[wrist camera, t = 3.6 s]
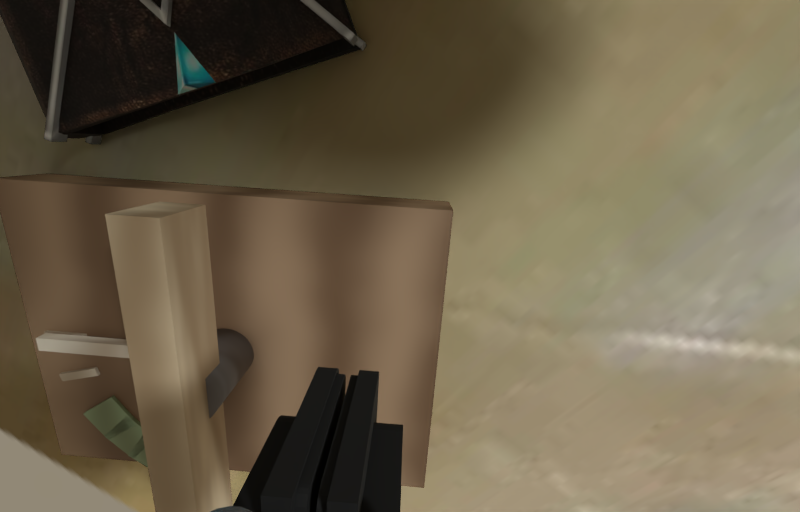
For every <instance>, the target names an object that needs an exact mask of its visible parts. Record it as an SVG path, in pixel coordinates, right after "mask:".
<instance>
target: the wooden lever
mask: <svg viewBox="0 0 800 512" xmlns="http://www.w3.org/2000/svg"><path fill="white" fill-rule="evenodd" d="M105 218H106V224H107V229H108V235H109V241H110V247H111V253H112V259H113V265H114V271H115V276H116V282H117V288H118V294H119V300H120V306H121V312H122V317H123V323H124V329H125V335H126V339H114V338H102V337H90V336H78V335H66V334H54V333H45V334H43V335H41V336H39V337H37V338H36V342H37V346H38V350H39V351H49V352H60V353H72V354H84V355H96V356H108V357H120V358H130V364H131V370H132V376H133V382H134V388H135V394H136V400H137V405H138V411H139V417H140V423H141V429H142V435H143V441H144V446H145V452H146V458H147V464H148V470H149V476H150V482H151V487H152V493H153V499H154V505H155V511H156V512H211V511H213V510H215V509H217V508H222V507H227V506H233V505H232V494H231V483H230V472H229V461H228V450H227V439H226V428H225V417H224V405H223V402H224V400H225V399H226V398H227V396H228V395H229V394H230V393H231V391H232V390H233V389H234V387H235V386H236V385H237V383H238V382H239V381H240V379H241V378H242V377H243V375H244V374H245V373H246V371H247V370H248V369H249V367H250V366H251V364H252V362H253V359H254V352H253V348H252V346H251V344H250V342H249V341H248V339H247V338H246V337H245V336H243V335H242V334H241V333H239V332H237V331H234V330H231V329H217V328H216V317H215V306H214V295H213V283H212V272H211V261H210V250H209V239H208V228H207V217H206V206H205V205H201V204H187V203H173V202H156V203H152V204H148V205H143V206H139V207H134V208H130V209H126V210H121V211H117V212H112V213H108V214H105Z"/></svg>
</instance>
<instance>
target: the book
mask: <svg viewBox="0 0 800 512" xmlns="http://www.w3.org/2000/svg"><path fill="white" fill-rule="evenodd" d="M0 14H1V17H2V19H3V21H4V24H5V26H6V28H7V30H8V33H9V35H10V37H11V39H12V42H13V44H14V46H15V49H16V51H17V53H18V55H19V58H20V60H21V62H22V65H23V67H24V69H25V71H26V74H27V76H28V78H29V80H30V83H31V85H32V87H33V90H34V92H35V94H36V96H37V99H38V101H39V103H40V106H41V108H42V110H43V112H44V115H45V117H46V126H45V134H44V139H46V140H48V141H51V142H67V138H84V137H86V141H85V142H87V143H90V144H101V137H102V135H103V134H107V133H110V132H113V131H116V130H118V129H121V128H124V127H127V126H130V125H133V124H135V123H138V122H141V121H144V120H147V119H150V118H152V117H155V116H158V115H161V114H164V113H167V112H170V111H172V110H175V109H178V108H181V107H184V106H187V105H191V104H194V103H197V102H200V101H203V100H206V99H209V98H212V97H215V96H218V95H221V94H224V93H227V92H230V91H233V90H236V89H239V88H242V87H245V86H248V85H251V84H254V83H258V82H261V81H264V80H267V79H270V78H273V77H276V76H279V75H282V74H285V73H288V72H291V71H294V70H298V69H301V68H304V67H307V66H310V65H313V64H316V63H319V62H323V61H326V60H329V59H332V58H335V57H338V56H341V55H344V54H347V53H351V52H354V51H357V50H360V49H361V50H362V51H363V50H364V48H365V46H366V43H365V42H364V41H363V40H362V39H361V38H359V37H358V36H357V33H356V31H355V28H354V25H353V22H352V20H351V17H350V14H349V11H348V9H347V6H346V3H345V0H0ZM97 135H101V136H97Z"/></svg>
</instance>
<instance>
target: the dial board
mask: <svg viewBox="0 0 800 512" xmlns="http://www.w3.org/2000/svg"><path fill="white" fill-rule="evenodd" d="M156 202H173V203H187V204H201V205H205V206H206V217H207V228H208V239H209V250H210V261H211V272H212V283H213V295H214V306H215V317H216V328H217V329H231V330H234V331H237V332H239V333H241V334H242V335H243V336H245V337H246V338H247V339H248V341H249V342H250V344H251V346H252V348H253V352H254V359H253V362H252V364H251V366H250V367H249V369H248V370H247V371H246V373H245V374H244V375H243V377H242V378H241V379H240V381H239V382H238V383H237V385H236V386H235V387H234V389H233V390H232V391H231V393H230V394H229V395H228V396H227V398H226V399H225V400H224V402H223V405H224V417H225V428H226V439H227V450H228V461H229V470H236V471H247V472H250V471H251V469H252V468H253V466H254V464H255V462H256V460H257V458H258V456H259V454H260V452H261V450H262V448H263V446H264V444H265V442H266V440H267V438H268V436H269V434H270V432H271V430H272V428H273V426H274V424H275V422H276V421H277V419H278V417H279V416H281V415H284V416H296V415H297V413H298V410H299V408H300V406H301V404H302V401H303V399H304V397H305V395H306V392H307V390H308V388H309V385H310V383H311V381H312V379H313V376H314V374H315V372H316V370H317V368H318V367H327V368H338V369H339V374H345V375H346V388H345V395H346V391H347V387H348V384H349V380H350V377H351V375H358V373H359V370H367V371H379V388H378V406H377V423H387V424H400V425H403V445H402V473H401V486H410V487H421V488H424V483H425V473H426V464H427V454H428V445H429V435H430V426H431V416H432V407H433V397H434V388H435V378H436V369H437V359H438V350H439V340H440V331H441V321H442V312H443V302H444V293H445V284H446V274H447V265H448V255H449V246H450V236H451V227H452V217H453V209H452V207H451V205H450V203H449V202H445V201H431V200H417V199H402V198H388V197H374V196H360V195H345V194H331V193H317V192H302V191H288V190H274V189H260V188H245V187H231V186H217V185H202V184H188V183H174V182H160V181H145V180H131V179H117V178H102V177H88V176H74V175H60V174H36V175H23V176H11V177H0V213H1V217H2V221H3V225H4V229H5V233H6V237H7V241H8V245H9V249H10V253H11V257H12V261H13V265H14V269H15V272H16V276H17V280H18V284H19V288H20V292H21V296H22V300H23V304H24V308H25V312H26V316H27V320H28V324H29V328H30V332H31V336H32V340H33V344H34V348H35V351H36V355H37V359H38V363H39V367H40V371H41V375H42V379H43V383H44V387H45V391H46V395H47V399H48V403H49V407H50V411H51V415H52V419H53V423H54V427H55V430H56V434H57V438H58V442H59V446H60V450H61V454H62V455H73V456H84V457H95V458H106V459H117V460H128V461H138V462H140V463H141V464H143V465H145V466H146V467H148V464H147V458H146V452H145V446H144V441H143V435H142V429H141V423H140V417H139V411H138V405H137V400H136V394H135V388H134V382H133V376H132V370H131V364H130V358H120V357H108V356H96V355H84V354H72V353H60V352H49V351H39V350H38V346H37V342H36V338H37V337H39V336H41V335H43V334H45V333H54V334H66V335H78V336H90V337H102V338H114V339H126V335H125V329H124V323H123V317H122V312H121V306H120V300H119V294H118V288H117V282H116V276H115V271H114V265H113V259H112V253H111V247H110V241H109V235H108V229H107V224H106V218H105V214H108V213H112V212H117V211H121V210H126V209H130V208H134V207H139V206H143V205H148V204H152V203H156Z"/></svg>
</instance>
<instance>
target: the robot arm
mask: <svg viewBox="0 0 800 512" xmlns="http://www.w3.org/2000/svg"><path fill="white" fill-rule="evenodd" d="M345 388H346V375H345V374H339V369H338V368H327V367H318V368H317V370H316V372H315V374H314V376H313V379H312V381H311V383H310V385H309V388H308V390H307V392H306V395H305V397H304V399H303V401H302V404H301V406H300V408H299V410H298V413H297V415H296V416H284V415H281V416H279V417H278V419H277V421H276V422H275V424H274V426H273V428H272V430H271V432H270V434H269V436H268V438H267V440H266V442H265V444H264V446H263V448H262V450H261V452H260V454H259V456H258V458H257V460H256V462H255V464H254V466H253V468H252V469H251V471H250V473H249V475H248V477H247V479H246V481H245V483H244V485H243V487H242V489H241V491H240V493H239V495H238V497H237V499H236V501H235V503H234V505H233V506H227V507H222V508H217V509H215V510H213V511H211V512H400V500H401V473H402V445H403V425H400V424H387V423H377V406H378V388H379V371H367V370H359V373H358V375H351V377H350V380H349V384H348V387H347V391H346V395H345Z"/></svg>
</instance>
